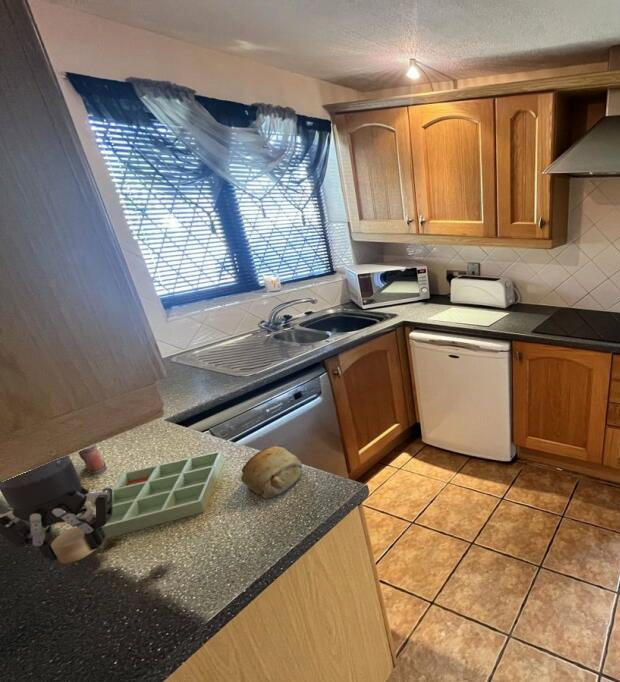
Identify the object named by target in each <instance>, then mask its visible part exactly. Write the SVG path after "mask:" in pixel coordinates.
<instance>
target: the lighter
mask: <svg viewBox="0 0 620 682" xmlns="http://www.w3.org/2000/svg"><path fill="white" fill-rule="evenodd" d="M77 454H78V455H79V457H80V459H81V460H82V461H83V463H84V467H85V469H86V471H87V473H88V474H90V475H93V476H96V475H100V474H102V473H104V472H105V471H107V469H108V466H107V464H106V461H105V460H104V459H103V458H102V456H101V453H100V452H99V450H98V448H97V444H96V445H94V446H92V447H90V448H87V449H84V450H82V451H80V452H78V451H77Z"/></svg>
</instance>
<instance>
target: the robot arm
mask: <svg viewBox="0 0 620 682" xmlns="http://www.w3.org/2000/svg"><path fill="white" fill-rule="evenodd" d="M81 481H82V480H81V477H80V475H79V473H78V471H77V469H76V467H75V465H74V463H73V461H72V458H71V457H70V455H69V454H68V456H65V457H63V458H60V459H58V460H55V461H52V462H50V463H48V464H45V465H43V466H40V467H38V468H36V469H33V470H31V471H28V472H26V473H23V474H21V475H18V476H16V477H14V478H11V479H9V480H6V481H4V482H0V493H1V494H2V497H3V498H4V500H5V501H6V503H7V505H8V506H9V508H11V509H12V510H4V511H2V512H1V513H0V535H1V536H2V537H4V538H5V539H6V540H8V542H10V543H11V544H13V545H14V546H15V547H17V548H23V547H25V546H27V545H32V546H33V547H37V548H38V549H39V551H40V552H41V554H42V557H44V559H47V560H49V561H51V562H52V561H56V560H58V558H57V557H56V555H55V553H54V551H53V550H52V548H51V543H52V541H53V540H54V539H55V538H57V537H58V535H57V534H56V533H54V534H53V525H55V524H58V523H67V524H68V525H69V526H71V527H73V528H76V527H78V528H79V529H80V530H82V531H83V532H84V533H85V534H84V536H85V538H86V539H87V541H88V543H89V545H90V547H91V549H92V550H94V549H95V550H97V549H99V548H100V547H101V546H102V545H103V542H104V541H105V540H106V539H107V538H106V535H105V533H104V531H103V529H102V526H104V525H105V524H106V523H107V521H108V520H109V519H110V517H111V516H112V487H105V488H103V489H102V491H90V490H89V489H87V488H85V487H83V486H82V482H81ZM87 501H88V502H90V503H91V506H92V507H93V508H95V510H96V515H95V514H94V511H93V508H92V507H91V506H89V505H88V504H87V503H86V502H87ZM25 521H26V522H28V523H30V525H29V524H27V523H26V522H25ZM105 538H106V539H105ZM95 550H94V551H95Z"/></svg>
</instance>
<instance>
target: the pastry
mask: <svg viewBox="0 0 620 682" xmlns="http://www.w3.org/2000/svg"><path fill="white" fill-rule="evenodd" d="M302 469H303V463H302V461H301V460H300V459H299V458H298V457H297V456H296V455H295V454H293V453H291V452H290V451H289V450H287V449H286V448H284V447H283V446H276V445H271V446H269V447H267V448H263V450H260V451H258V452H256V453H255V454H253V455H252V456H251V457H250V458H249V459H248V460H247V462H246V463H245V465H243V466H242V469H241V473H242V475H241V477H240V478H241V479H240V482H242V483H243V484H244V485H246V486H247V487H248V488H249V489H250V490H251V491H252V493H254V494H256V495H259V496H262V497H263V499H264V500H270V499H272V498H274V497H277V496H279V495H281V494H282V493H284V492H285V491H287V490H288V489H289V488H291V487H292V486H293V485H294V484H295V483H297V482H298V480H299V479H300V478H301V472H302Z"/></svg>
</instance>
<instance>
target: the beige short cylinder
mask: <svg viewBox="0 0 620 682" xmlns="http://www.w3.org/2000/svg"><path fill="white" fill-rule="evenodd" d="M84 534H85V533H84V532H83V531H82V530H80V529H79V528H78V527H76V526H75V527H73V528H71V529H69V530H66V531H64V532H62V533H61V534H59V535H57V538H55V539H54V540H53V541H52V543H51V548H52V550H53V551H54V553H55V555H56V557H57V558H58V559H57V560H58V562H59V563H60V564H62V565H63V564H64V565H65V564H71V563H75V562H78V561H80V560H83V559H84V558H86V557H87V556H88V555H90V554H92V553H93V552H94V551H96V549H94V550H92V549H91V547H90V545H89V543H88V541H87V539H86V538H85V536H84Z"/></svg>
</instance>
